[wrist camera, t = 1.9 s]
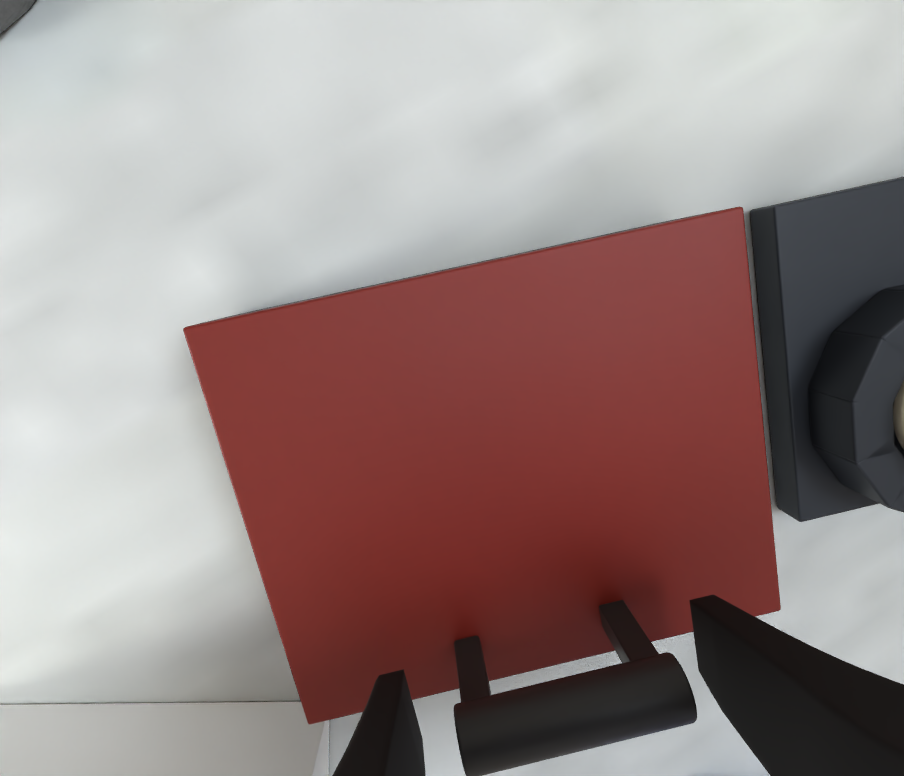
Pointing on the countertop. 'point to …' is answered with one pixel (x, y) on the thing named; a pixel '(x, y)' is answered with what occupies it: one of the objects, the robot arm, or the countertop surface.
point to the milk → (162, 740)
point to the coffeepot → (12, 11)
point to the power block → (833, 346)
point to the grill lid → (506, 479)
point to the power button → (899, 415)
